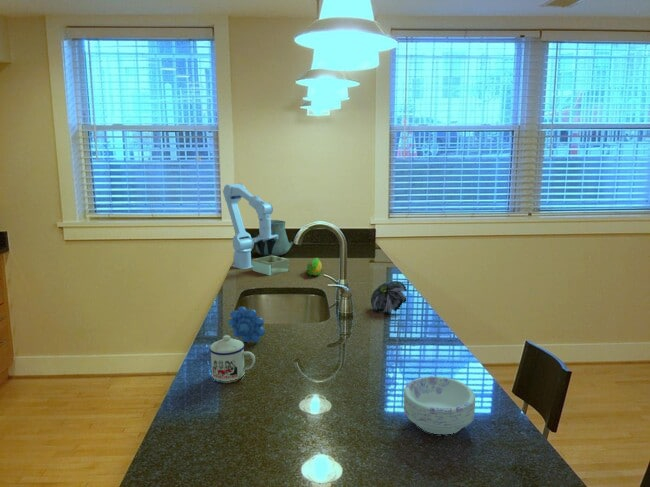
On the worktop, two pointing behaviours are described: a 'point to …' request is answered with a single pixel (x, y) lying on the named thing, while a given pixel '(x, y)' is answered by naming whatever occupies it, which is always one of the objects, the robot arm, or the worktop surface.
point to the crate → (276, 264)
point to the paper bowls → (439, 404)
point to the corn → (314, 267)
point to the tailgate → (261, 266)
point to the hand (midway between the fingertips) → (266, 254)
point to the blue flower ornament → (246, 324)
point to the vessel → (282, 241)
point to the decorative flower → (388, 297)
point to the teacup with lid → (229, 359)
